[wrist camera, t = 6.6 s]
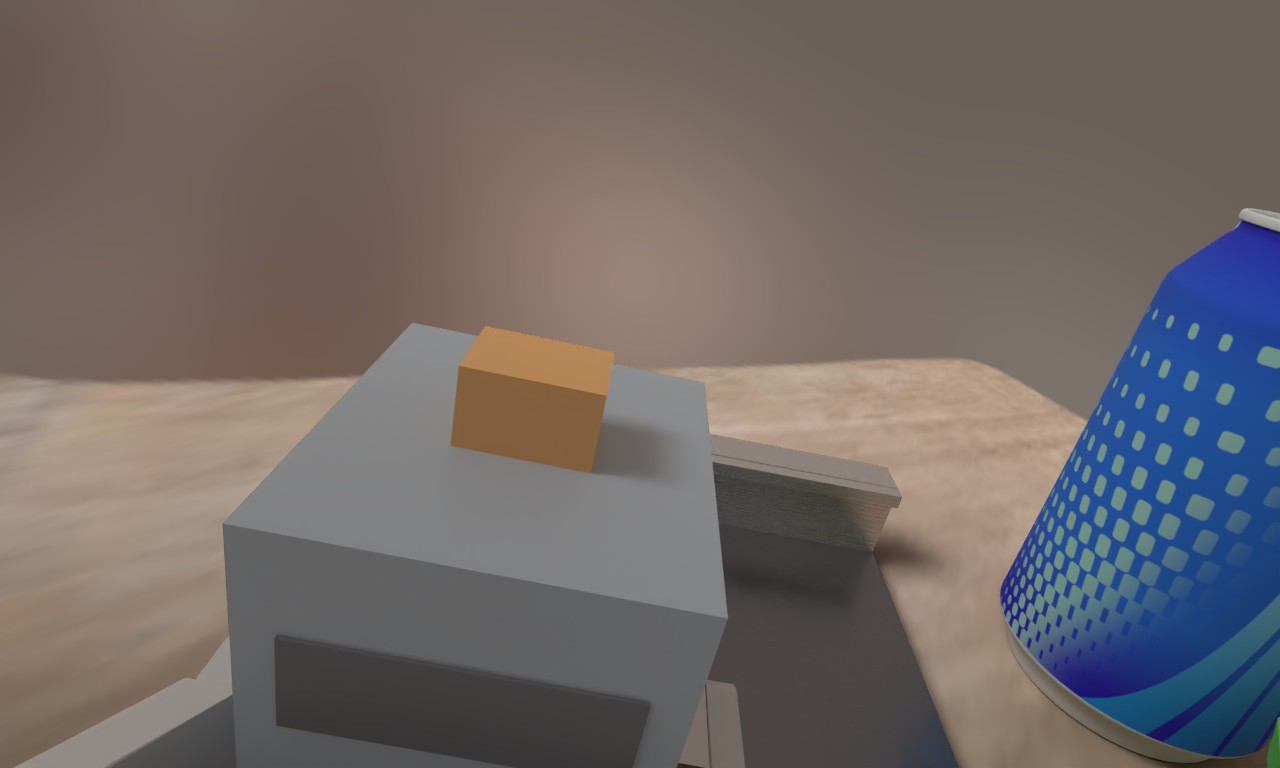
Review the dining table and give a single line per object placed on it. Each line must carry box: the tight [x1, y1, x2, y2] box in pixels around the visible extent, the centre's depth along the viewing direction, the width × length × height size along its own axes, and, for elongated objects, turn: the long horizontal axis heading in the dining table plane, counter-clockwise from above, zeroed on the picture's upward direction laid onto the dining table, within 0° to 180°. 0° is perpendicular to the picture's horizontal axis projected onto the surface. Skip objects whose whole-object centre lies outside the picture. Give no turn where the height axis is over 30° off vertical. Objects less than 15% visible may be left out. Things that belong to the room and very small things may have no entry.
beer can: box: [1000, 208, 1280, 763], centre depth 22 cm, size 8×8×16 cm
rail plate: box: [707, 434, 958, 768], centre depth 24 cm, size 20×14×4 cm
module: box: [223, 323, 728, 768], centre depth 11 cm, size 4×5×12 cm
